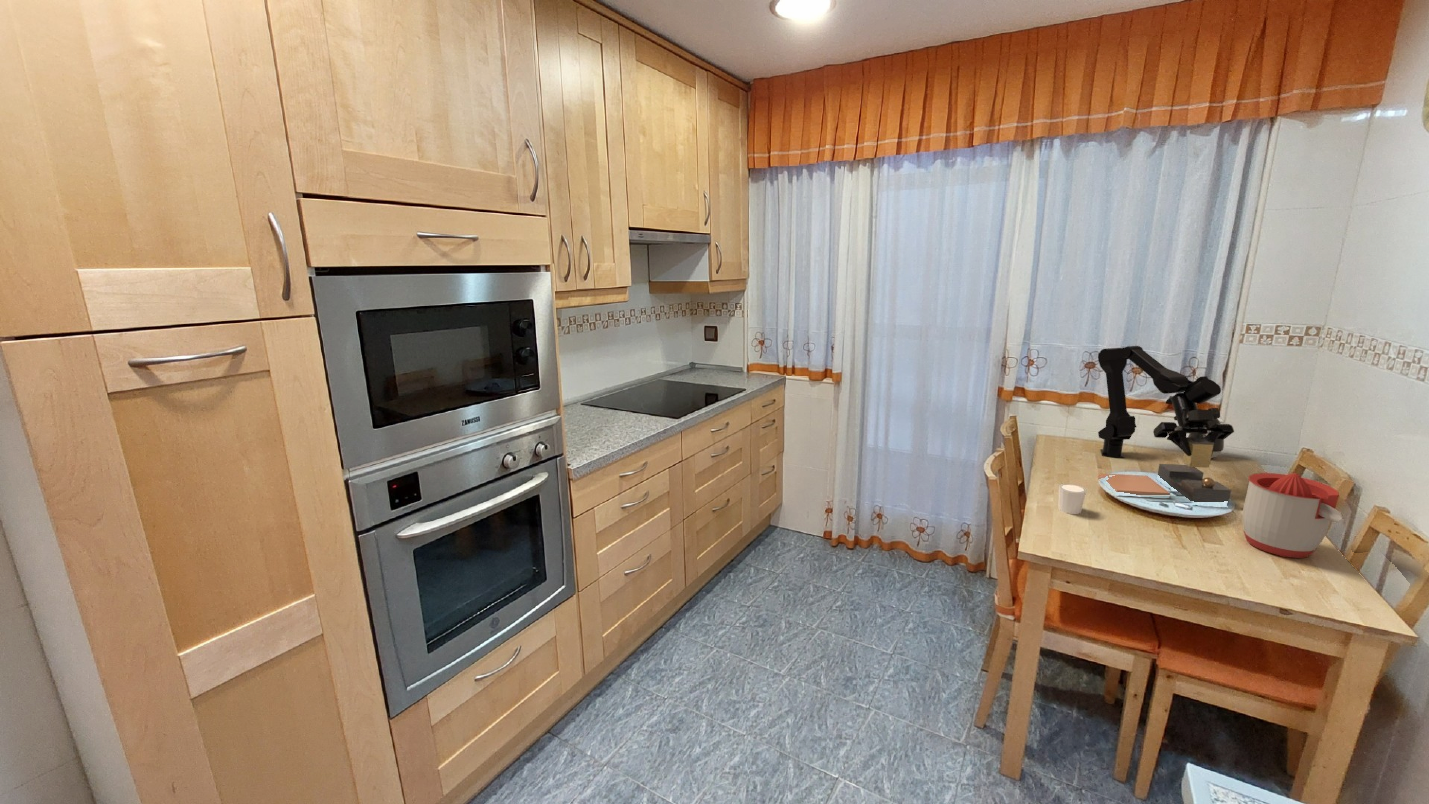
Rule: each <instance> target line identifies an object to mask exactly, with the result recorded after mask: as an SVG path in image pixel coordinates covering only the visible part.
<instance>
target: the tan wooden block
mask: <svg viewBox="0 0 1429 804" xmlns="http://www.w3.org/2000/svg"><path fill="white" fill-rule="evenodd" d="M1186 438H1187V441H1188V444H1189V447H1190V451H1191V455H1190V456H1187V455H1186V454H1185V453H1184V452H1183V457H1182V463H1183V465H1187V466H1189V467H1195V468H1206V469H1208V468H1210V464H1211V459H1212V458H1211V455H1212V450H1213V445H1214V442H1212V441H1210V440H1209V439H1207V438H1192V437H1187V436H1186Z"/></svg>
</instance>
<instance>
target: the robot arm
mask: <svg viewBox="0 0 1429 804" xmlns="http://www.w3.org/2000/svg"><path fill="white" fill-rule="evenodd" d="M1097 360H1098V363H1099V367H1100V368H1101V370H1103V372H1104V373H1105V378H1106V387H1107V396H1108V397H1107V398H1108V405H1109V414H1108V415H1107V418H1106V420H1105V426H1104V427H1103V428H1102V429H1100V430H1099V431H1097V434H1098V438H1099V439H1101V440H1103V446H1102V449H1100V450H1099V451H1100V454H1101V456H1103V457H1109V458H1110V457H1111V458H1117V459H1118V458H1120V459H1124V454H1123V446H1124V441H1125V440H1130V439H1131V437H1132V435H1133V434H1135V432H1136V428H1137V425H1136V416H1134V415H1131V414H1129V412H1128V407H1127V399H1126V390H1125V381H1124V380H1125V379H1124V370H1125V368H1126V366H1127V364H1128V360H1129V361H1130V362H1132V363H1133V364H1135V365H1136V366H1137V368H1139V369H1141V371H1143V372H1144V373H1146V375H1148V376H1149V377H1150V378H1151V379H1152V382H1153V385H1154V386H1155V388H1157V390H1158V391H1159V392H1160V393H1162V394H1163V395H1165V394H1166V395H1168V394H1174V395H1169V397H1168V398H1167V400H1166V401H1165V404H1166V405H1172V407H1173V412H1174V414H1175V415H1174V417H1173V419H1174V421H1176V422H1177V423H1176V422H1172V421H1169V422H1168V421H1161V422H1160V423H1159V424H1158V425H1156V426H1155V428H1154V429H1153V431H1152V432H1153V437H1154V438H1161V439H1166V440H1167V441H1171V442H1172V443H1173V444H1174V445H1175V446H1177V448H1178V449H1180V450H1181V451H1182V452H1183V454H1184V453H1185V454H1186V455H1187V456H1190V455H1191V451H1190V447H1189V444H1188V441H1187V438H1186V437H1187V434H1190V433H1192V434H1203V437H1204V438H1207V439H1209V440H1210V441H1212V442H1215V440H1223V439H1224V440H1225V439H1227V438H1228V437H1229V436H1231V435H1232V434H1233V433H1235V430H1234V427H1233V425H1232V424H1229V423H1221V424H1215V425H1213V426H1212V427H1211V428H1204V425H1207V424H1208V421H1214V419H1220V418H1221V412H1220V410H1219V407H1210V408H1208V409H1201V408H1198V405H1197V404H1199V405H1202V404H1204V403H1206V402H1208V401H1210V400H1212V399H1214V398H1215V397H1216V396H1219V395H1220V394H1221V392H1222V389H1221V386H1220V384H1218V383H1216V382H1215V381H1214V380H1212V379H1209V378H1208V376H1207V375H1204V376H1199V377H1198V378H1196V379H1195V380H1194V381H1192V380H1189V378H1188V377H1187V376H1185V374H1182V373H1180V372H1178V371H1175V370H1173V369H1169V368H1167V367H1166V366H1164V365H1163V364H1162V363H1160V362H1159V361H1157V360H1156V359H1155V358H1154V357H1152V356H1151V355H1150V354H1149V353H1148V352H1146V351H1145V350H1144V348H1143V347H1142V346H1141V345H1140V346H1139V345H1129V346H1128V345H1127V346H1124V347H1113V348H1112V347H1111V348H1103V349H1101V350H1100V351H1099V352H1098V354H1097ZM1177 424H1178V425H1177ZM1213 448H1214V445H1213ZM1212 454H1213V450H1212ZM1211 456H1212V455H1211Z"/></svg>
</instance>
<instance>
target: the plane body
mask: <svg viewBox="0 0 1429 804" xmlns="http://www.w3.org/2000/svg"><path fill="white" fill-rule="evenodd" d="M1157 475H1159V476H1160V478H1162V479H1163V480H1164V481H1166V482H1167V483H1168V484H1169V485H1170V486H1171V487H1173V488H1174V489H1176V490H1177V491H1178V492H1180V493H1181V494H1182V495H1184V496H1185V497H1186V498H1188V499H1189V500H1190V501H1194V502H1224V501H1228V503H1229V501H1230V497H1231V492H1232V489H1230V488H1229V487H1227V486H1225V485H1224V484H1223V483H1220V482H1219V481H1215V480H1214V479H1213V478H1211V477H1204V472H1203V471H1202V470H1200V469H1199V468H1198V467H1189V466H1187V465H1186V464H1173V463H1159V465H1158V469H1157Z"/></svg>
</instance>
